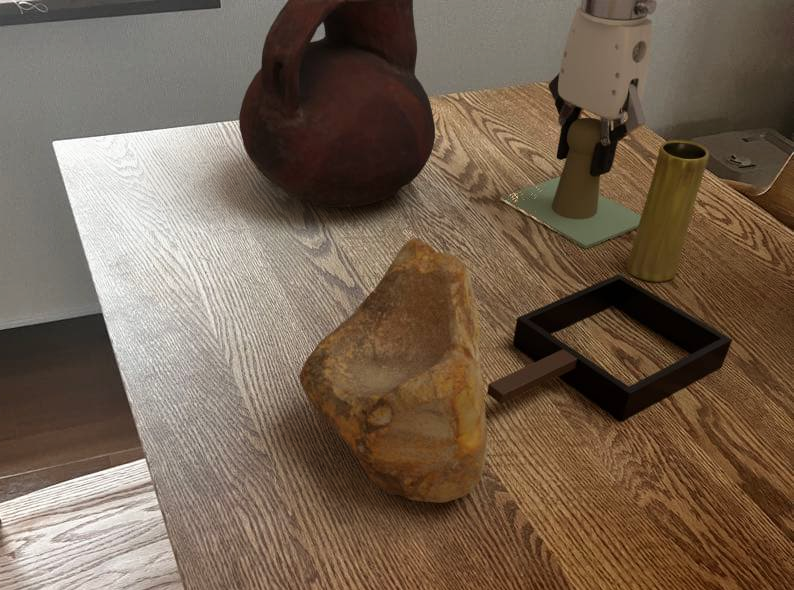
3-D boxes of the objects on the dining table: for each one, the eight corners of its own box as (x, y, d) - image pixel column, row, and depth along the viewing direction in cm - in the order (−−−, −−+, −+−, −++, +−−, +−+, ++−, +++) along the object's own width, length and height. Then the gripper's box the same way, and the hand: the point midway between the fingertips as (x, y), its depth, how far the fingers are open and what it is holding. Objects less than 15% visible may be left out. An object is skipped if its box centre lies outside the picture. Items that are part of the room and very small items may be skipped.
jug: (210, 182, 112) (180, -35, 94) (350, 135, 124) (348, -65, 106) (326, 253, 100) (318, 20, 82) (468, 194, 112) (489, -22, 94)
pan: (611, 301, 95) (618, 273, 92) (721, 367, 86) (732, 339, 84) (440, 378, 84) (442, 349, 81) (547, 462, 76) (553, 433, 73)
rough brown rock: (314, 362, 86) (293, 230, 75) (472, 354, 86) (475, 219, 74) (300, 529, 71) (271, 394, 60) (492, 520, 71) (499, 383, 59)
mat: (562, 178, 116) (563, 175, 116) (649, 223, 108) (650, 220, 107) (499, 200, 111) (500, 196, 111) (585, 249, 103) (586, 245, 102)
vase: (644, 287, 97) (679, 165, 86) (614, 262, 101) (644, 142, 90) (686, 277, 99) (725, 156, 88) (655, 253, 102) (689, 134, 92)
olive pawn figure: (588, 196, 111) (606, 110, 103) (603, 217, 107) (623, 130, 99) (545, 199, 110) (560, 113, 102) (559, 220, 106) (575, 132, 98)
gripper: (698, 15, 88) (653, 182, 102) (583, -23, 97) (556, 136, 111) (652, 27, 85) (612, 198, 99) (537, -14, 94) (515, 148, 108)
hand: (583, 163), depth 105 cm, fingers closed on olive pawn figure, 5 cm apart
